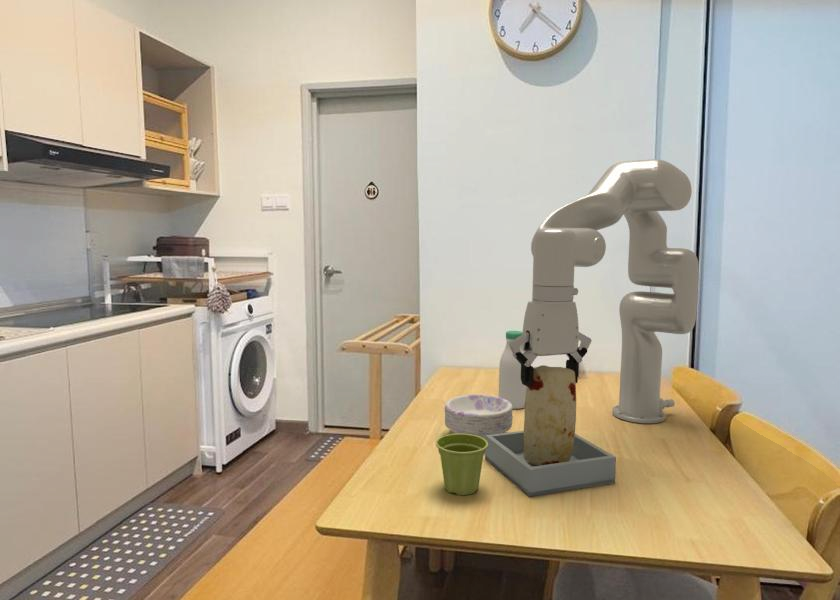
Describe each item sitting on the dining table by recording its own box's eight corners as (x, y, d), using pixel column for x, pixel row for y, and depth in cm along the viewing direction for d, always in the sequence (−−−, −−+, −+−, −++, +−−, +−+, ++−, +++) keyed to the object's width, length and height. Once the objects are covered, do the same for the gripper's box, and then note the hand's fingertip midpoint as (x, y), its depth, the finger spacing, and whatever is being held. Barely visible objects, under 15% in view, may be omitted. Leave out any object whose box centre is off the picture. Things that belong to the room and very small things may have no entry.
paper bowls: (435, 444, 126) (435, 409, 125) (455, 422, 140) (455, 391, 139) (504, 453, 121) (505, 417, 120) (517, 430, 135) (518, 397, 134)
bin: (561, 448, 124) (561, 426, 123) (615, 483, 107) (616, 457, 106) (484, 458, 118) (485, 435, 117) (529, 497, 101) (530, 469, 100)
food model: (521, 469, 111) (524, 367, 108) (524, 456, 117) (527, 359, 115) (573, 475, 108) (578, 370, 106) (573, 461, 115) (578, 363, 112)
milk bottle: (529, 409, 151) (531, 334, 148) (500, 409, 151) (501, 334, 148) (524, 401, 158) (527, 329, 156) (496, 401, 158) (498, 329, 156)
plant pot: (444, 503, 98) (445, 454, 97) (428, 480, 107) (429, 435, 106) (495, 496, 101) (496, 449, 100) (475, 475, 110) (476, 431, 109)
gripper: (580, 291, 115) (576, 375, 117) (502, 294, 109) (500, 382, 111) (603, 295, 108) (599, 385, 110) (521, 298, 102) (519, 392, 104)
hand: (549, 383), depth 110 cm, fingers open, 9 cm apart
